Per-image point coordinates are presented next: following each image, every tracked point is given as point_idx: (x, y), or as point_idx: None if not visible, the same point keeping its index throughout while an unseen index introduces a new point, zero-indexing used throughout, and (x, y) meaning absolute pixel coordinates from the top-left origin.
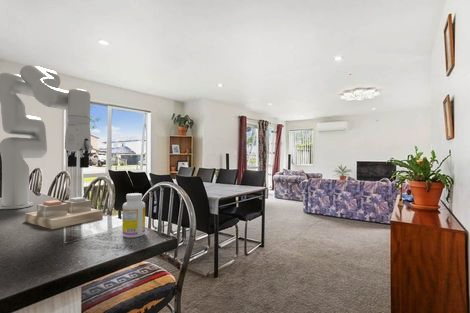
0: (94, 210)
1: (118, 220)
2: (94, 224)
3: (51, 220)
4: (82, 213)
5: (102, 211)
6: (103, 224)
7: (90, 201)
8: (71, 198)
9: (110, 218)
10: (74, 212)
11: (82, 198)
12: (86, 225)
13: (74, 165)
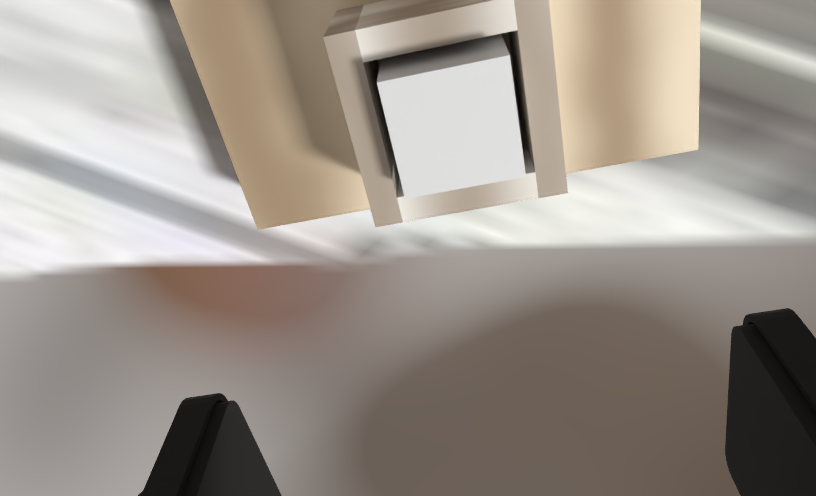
0: (308, 183)
1: (126, 246)
2: (91, 74)
3: None
4: (232, 57)
5: (257, 223)
6: (53, 123)
7: (373, 212)
8: (475, 68)
9: (228, 233)
10: (330, 16)
11: (396, 162)
12: (90, 13)
13: (735, 445)
